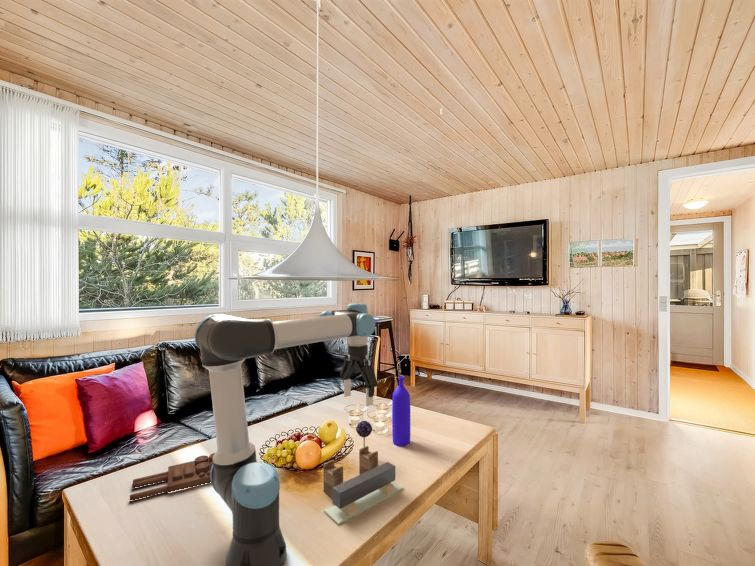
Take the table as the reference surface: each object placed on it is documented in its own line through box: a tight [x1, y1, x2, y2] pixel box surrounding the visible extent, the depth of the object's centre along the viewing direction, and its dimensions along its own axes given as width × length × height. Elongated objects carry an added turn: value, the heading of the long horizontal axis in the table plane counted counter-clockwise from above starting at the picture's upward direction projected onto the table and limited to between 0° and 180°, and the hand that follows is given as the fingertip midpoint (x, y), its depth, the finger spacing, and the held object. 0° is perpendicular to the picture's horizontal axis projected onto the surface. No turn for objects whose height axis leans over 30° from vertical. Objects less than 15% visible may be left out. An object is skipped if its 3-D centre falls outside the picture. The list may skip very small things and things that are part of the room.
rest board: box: [323, 481, 404, 526], centre depth 119 cm, size 28×8×3 cm, turn 131°
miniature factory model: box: [129, 452, 216, 501], centre depth 131 cm, size 16×5×30 cm
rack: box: [323, 445, 379, 500], centre depth 128 cm, size 20×6×10 cm, turn 131°
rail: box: [332, 461, 396, 509], centre depth 119 cm, size 24×4×5 cm, turn 131°
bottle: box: [391, 375, 411, 447], centre depth 161 cm, size 8×8×30 cm
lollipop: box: [355, 420, 373, 447], centre depth 148 cm, size 7×7×15 cm
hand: (358, 400), depth 133 cm, fingers open, 13 cm apart
